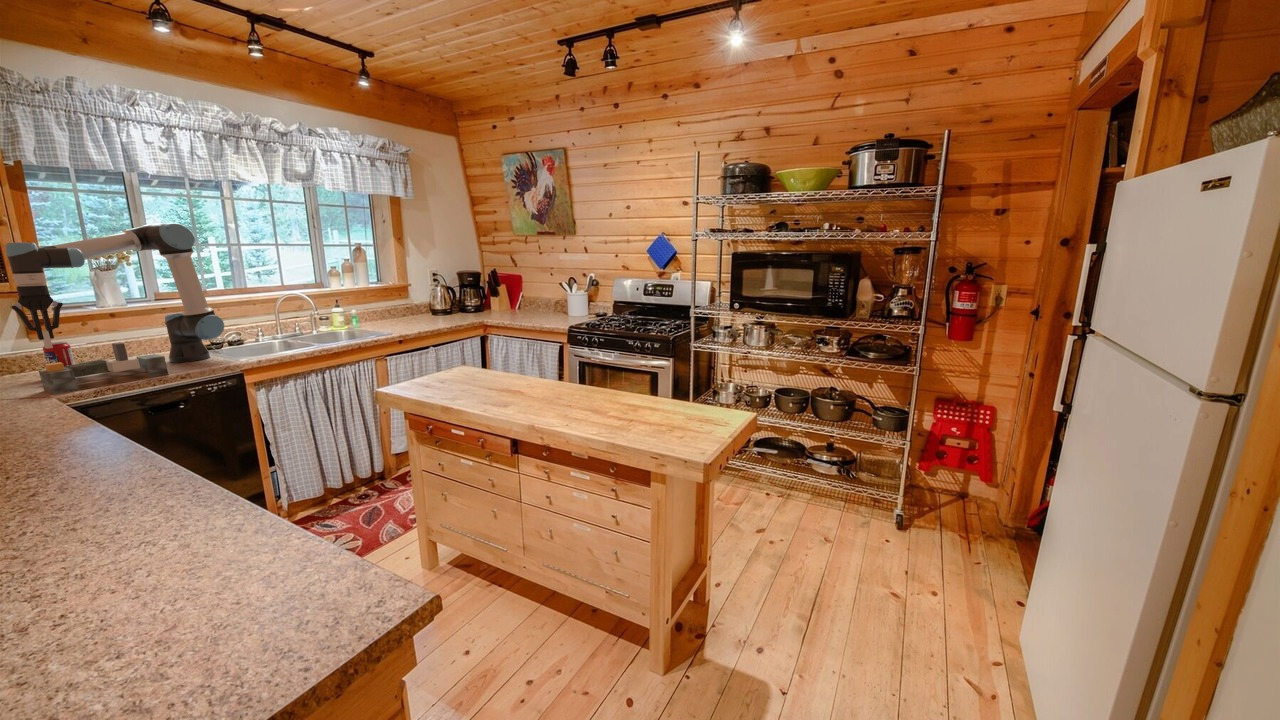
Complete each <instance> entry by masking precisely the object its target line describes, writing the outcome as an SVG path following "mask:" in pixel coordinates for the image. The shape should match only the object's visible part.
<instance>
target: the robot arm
mask: <svg viewBox="0 0 1280 720" xmlns="http://www.w3.org/2000/svg"><path fill="white" fill-rule="evenodd" d="M195 243H196V238H195V234H194V232H193V231H192V230H191V229H190V228H189V227H188V226H186V225H183V224H182V223H177V222H164V223H163V222H161V223H159V222H158V223H148V224H145V225H141V226H139V227H137V226H136V227H134V228H130V229H125V230H123V231H122V233H116V234H110V235H104V236H99V237H94V238H87V239H82V240H77V241H70V242H66V243H61V244H60V243H59V244H55V245H51V246H44V247H39V246H37V244H36V243H35V242H7V243H5V245H4V246H5V254H6V257H7V260H8V263H9V266H10V269H11V275H12V277H13V282H14V285H16V292H17V296H18V299H17V300H18V301H17V303H15V304H14V305H10V307H9V308H10V309H11V310H12V311H14V312H15V313H16V314H17V315H18V317H19V318H20V320H21V321H22V323H23V325H24V326H25V328H26V329H27V330H28V331H33V332H36V336H37V339H38V340H39V341H42V342H43V347H44V346H45V348H53V347H52V343H53V342H52V340H53V339H54V338H55V335H54V333H53V330H55V329H58V328H59V327H60V315H61V313H60V312H61V309H62V307H63V305H64V303H63V302H61V301H60V302H59V301H56V300H54V299H53V298H52V296H51V295H50V291H49V287H48V285H46V284H47V281H46V280H47V279H46V275H45V274H44V273H45V272H44V269H67V268H69V269H70V268H71V269H73V268H81V267H83V266H84V265H85V263H86V260H90V259H95V258H96V259H97V258H100V257H104V256H110V255H114V254H120V253H125V252H129V251H130V252H131V251H133V252H136V253H137V252H140V251H152V250H153V251H154V250H158V252H159V255H160V256H161V257H163V258H165V259H166V261H167V264H168V267H169V269H170V270H169V271H170V272H171V276H172V278H173V281H174V284H175V286H176V289H177V291H178V294H179V298H180V300H181V303H182V306H183V309H184V311H183V312H177V313H176V312H175V313H170V314H167V315H165V316H164V324H165V326H166V330H167V334H168V338H169V343H170V350H169V355H168V360H169V362H170V363H187V362H195V361H196V362H197V361H201V360H205V359H209V358H210V357H211V354H210V352H209V350H208V349H207V347H206V345H205V344H204V342H203V340H213V339H217V338H219V337H221V335H222V334H223V332H224V330H225V322H224V320H223V318H221V317H219V316H217V315H216V312H215V310H214V308H212V307H210V306H209V305H208V302H207V300H206V296H205V294H204V291H203V287H202V285H201V282H200V279H199V276H198V273H197V271H196V267H195V264H194V261H193V259H192V255H193V253H194V248H193V246H194V245H195ZM51 305H52V307H53V312H52V322H51V320H50V316H49V310H48V309H49V307H50V306H51ZM23 307H24V308H25V309H26V310H28V311H29V312H30V315H31V319H32V323H33V324H32V323H31V321H30V320H29V319H28V317H27V316H26V315H25V312H24V311H23ZM38 311H40V313H41V317H42V320H43V321H42V322H43V324H44V327H45V330H43V329H42V325H41V322H40V318H39V314H38ZM51 323H52V324H51Z"/></svg>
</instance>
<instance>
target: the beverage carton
mask: <svg viewBox="0 0 1280 720" xmlns="http://www.w3.org/2000/svg"><path fill="white" fill-rule="evenodd" d="M106 361H110V359H109V360H104V359H95V360H91V361H88V362H82V363H75V364H74V365H68V366H64V367H66V368H69V369H72V370H73V372H74V376H75V377H81V376H87V375H94V374H100V373H106V372H111V371H108V367H107V364H106Z"/></svg>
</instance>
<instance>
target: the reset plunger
mask: <svg viewBox="0 0 1280 720" xmlns="http://www.w3.org/2000/svg"><path fill="white" fill-rule="evenodd" d="M44 367H45V370H46V371H47V372H55V371H62V370H65V368H64V365H63V363H61V362H58V363H51V364H47V363H46V364H45V363H44Z"/></svg>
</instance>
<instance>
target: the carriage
mask: <svg viewBox="0 0 1280 720" xmlns="http://www.w3.org/2000/svg"><path fill="white" fill-rule="evenodd" d="M111 346H112V350H113V354H114V355H113V356H114V358H115V359H112V360H111V359H109V361H106V364H107V367H108V371H111V372H119V371H125V370H132V369H138V368H140V364H139V360H138V359H137V358H136V357H128V353H127V349H126V346H125V342H121V341H119V342H112V343H111Z"/></svg>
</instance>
